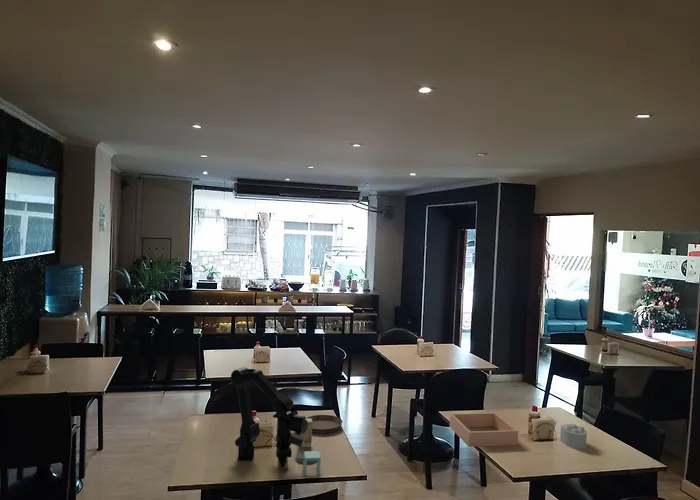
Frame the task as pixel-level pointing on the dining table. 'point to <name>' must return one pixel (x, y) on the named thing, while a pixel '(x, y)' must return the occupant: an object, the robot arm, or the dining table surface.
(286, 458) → the walnut block
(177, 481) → the dining table surface
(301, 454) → the grey domed disc
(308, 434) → the skincare box
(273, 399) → the robot arm
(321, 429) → the plant saucer
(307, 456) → the teal arch
